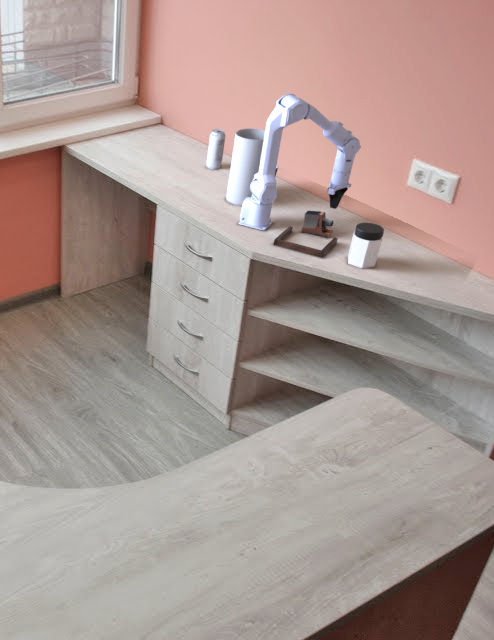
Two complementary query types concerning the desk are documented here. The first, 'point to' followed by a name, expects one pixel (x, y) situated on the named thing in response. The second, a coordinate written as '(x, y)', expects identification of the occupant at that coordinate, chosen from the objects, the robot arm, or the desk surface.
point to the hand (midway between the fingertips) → (333, 207)
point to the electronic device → (316, 223)
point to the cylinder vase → (244, 164)
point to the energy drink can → (215, 149)
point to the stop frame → (300, 248)
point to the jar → (365, 245)
